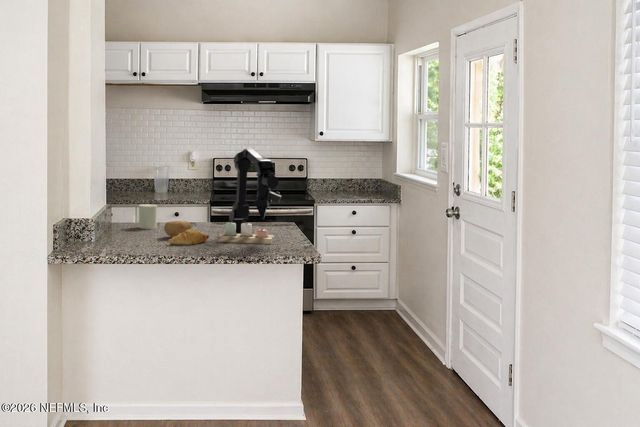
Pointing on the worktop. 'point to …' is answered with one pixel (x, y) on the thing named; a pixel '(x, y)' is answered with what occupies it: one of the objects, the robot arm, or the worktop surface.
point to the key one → (230, 229)
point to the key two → (246, 229)
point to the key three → (261, 233)
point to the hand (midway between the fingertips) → (262, 219)
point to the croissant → (189, 238)
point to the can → (148, 216)
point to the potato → (176, 227)
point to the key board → (245, 239)
